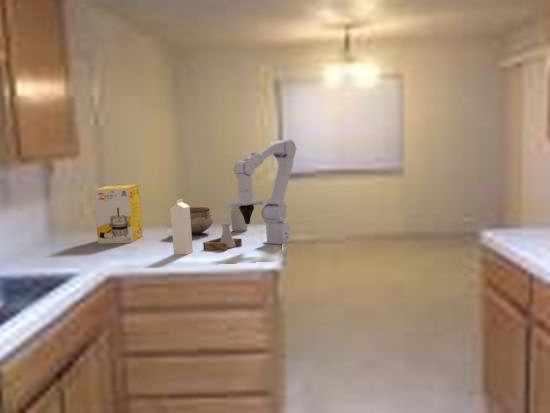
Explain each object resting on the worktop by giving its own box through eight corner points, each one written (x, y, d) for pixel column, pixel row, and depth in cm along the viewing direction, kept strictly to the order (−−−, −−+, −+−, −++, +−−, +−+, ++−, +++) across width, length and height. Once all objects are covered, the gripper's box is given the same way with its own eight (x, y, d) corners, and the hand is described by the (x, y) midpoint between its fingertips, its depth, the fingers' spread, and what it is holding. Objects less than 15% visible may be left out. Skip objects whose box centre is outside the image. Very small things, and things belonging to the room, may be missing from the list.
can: (240, 232, 334) (239, 207, 333) (228, 231, 339) (227, 206, 337) (250, 230, 340) (249, 205, 339) (238, 229, 345) (237, 204, 343)
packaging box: (98, 243, 324) (93, 189, 321) (109, 237, 340) (105, 186, 337) (132, 242, 322) (128, 187, 319) (142, 236, 338) (138, 184, 335)
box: (241, 245, 297) (241, 238, 297) (225, 250, 287) (224, 243, 286) (220, 244, 303) (220, 237, 302) (203, 249, 293) (203, 242, 292)
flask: (239, 246, 295) (237, 223, 293) (224, 249, 290) (223, 225, 289) (229, 245, 300) (228, 221, 299) (215, 247, 296) (213, 224, 295)
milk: (173, 254, 285) (169, 200, 282) (179, 251, 290) (175, 198, 288) (187, 254, 283) (183, 199, 280) (193, 251, 289) (189, 198, 286)
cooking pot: (181, 230, 350) (180, 206, 349) (219, 229, 347) (217, 204, 346) (166, 239, 325) (164, 213, 324) (206, 238, 323) (205, 211, 321)
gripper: (259, 188, 291) (261, 221, 293) (225, 191, 287) (227, 224, 288) (264, 189, 285) (266, 222, 286) (229, 192, 280) (232, 226, 282)
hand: (247, 223), depth 287 cm, fingers closed
